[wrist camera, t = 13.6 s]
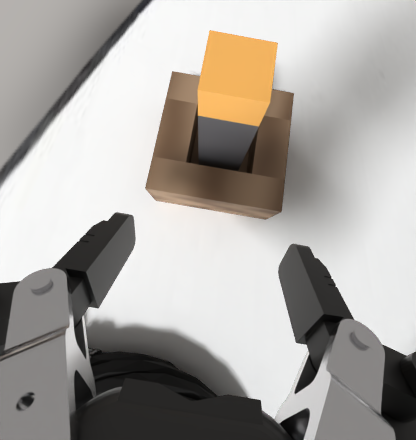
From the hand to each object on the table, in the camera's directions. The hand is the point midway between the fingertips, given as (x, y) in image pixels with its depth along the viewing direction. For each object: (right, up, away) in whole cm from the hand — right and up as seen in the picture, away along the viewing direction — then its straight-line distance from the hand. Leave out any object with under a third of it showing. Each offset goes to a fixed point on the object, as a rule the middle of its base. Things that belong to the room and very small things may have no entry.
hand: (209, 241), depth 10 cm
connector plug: (+1, +8, +11) cm, 14 cm away
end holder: (+1, +8, +12) cm, 14 cm away
